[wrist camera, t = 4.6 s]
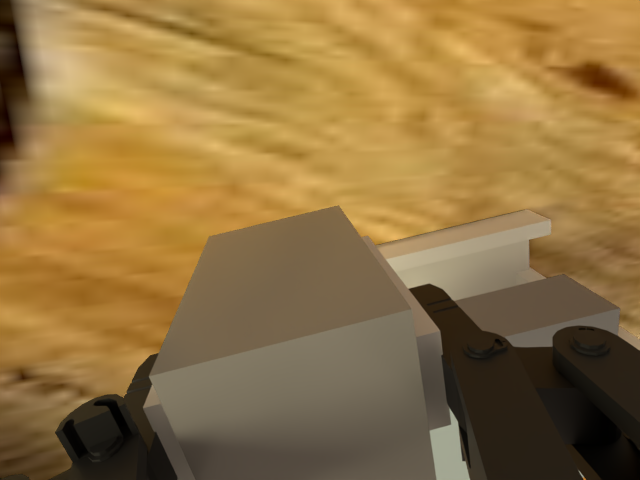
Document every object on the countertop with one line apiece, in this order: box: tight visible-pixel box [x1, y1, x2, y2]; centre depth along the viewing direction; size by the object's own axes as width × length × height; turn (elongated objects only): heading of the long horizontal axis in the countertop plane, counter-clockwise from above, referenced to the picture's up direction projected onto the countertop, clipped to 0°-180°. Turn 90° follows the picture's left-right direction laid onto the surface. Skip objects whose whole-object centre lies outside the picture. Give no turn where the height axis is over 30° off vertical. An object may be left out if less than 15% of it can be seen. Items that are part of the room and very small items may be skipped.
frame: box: [375, 209, 640, 350], centre depth 30 cm, size 18×20×12 cm
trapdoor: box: [430, 274, 620, 480], centre depth 26 cm, size 13×14×4 cm
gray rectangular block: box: [149, 205, 437, 480], centre depth 12 cm, size 5×5×8 cm
